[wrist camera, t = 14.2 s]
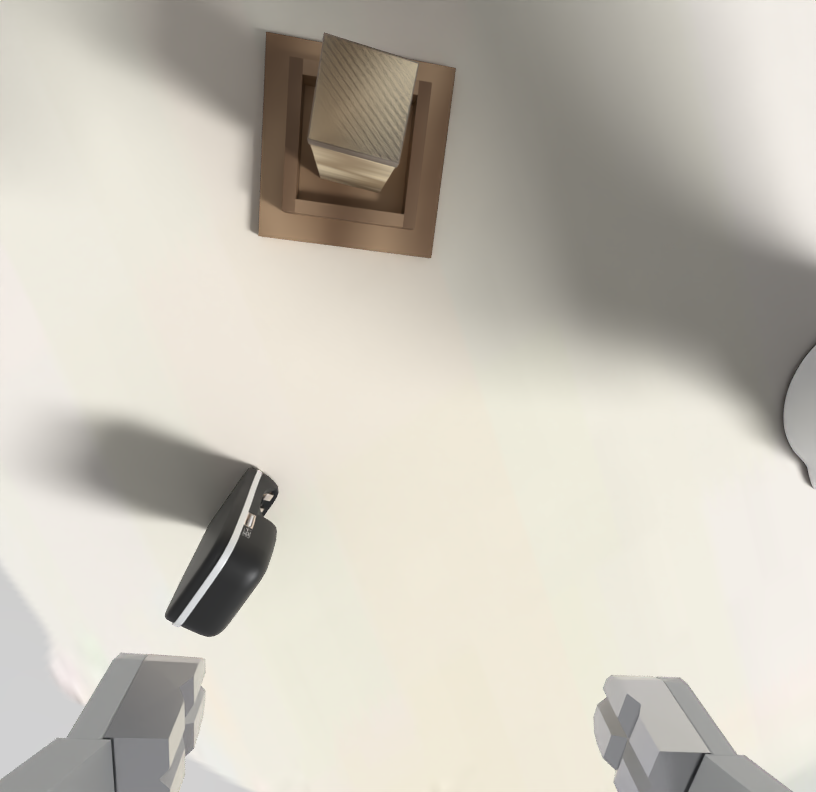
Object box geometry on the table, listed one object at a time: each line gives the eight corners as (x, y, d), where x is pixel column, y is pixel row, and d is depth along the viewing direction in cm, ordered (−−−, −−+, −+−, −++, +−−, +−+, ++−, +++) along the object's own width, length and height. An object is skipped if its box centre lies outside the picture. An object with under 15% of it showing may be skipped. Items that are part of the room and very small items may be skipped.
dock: (453, 72, 33) (463, 56, 30) (429, 257, 36) (436, 258, 33) (268, 37, 31) (261, 16, 28) (260, 236, 34) (253, 234, 31)
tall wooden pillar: (392, 129, 32) (419, 62, 21) (379, 194, 33) (398, 164, 22) (330, 112, 32) (324, 32, 20) (319, 178, 33) (307, 139, 21)
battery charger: (247, 549, 41) (212, 658, 30) (205, 528, 40) (153, 633, 29) (293, 485, 39) (275, 574, 29) (252, 461, 38) (216, 544, 28)
